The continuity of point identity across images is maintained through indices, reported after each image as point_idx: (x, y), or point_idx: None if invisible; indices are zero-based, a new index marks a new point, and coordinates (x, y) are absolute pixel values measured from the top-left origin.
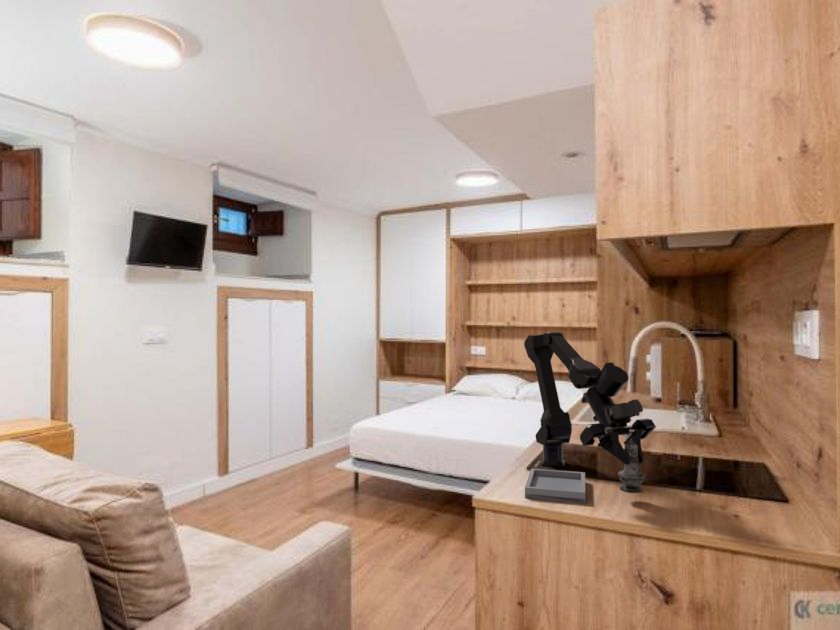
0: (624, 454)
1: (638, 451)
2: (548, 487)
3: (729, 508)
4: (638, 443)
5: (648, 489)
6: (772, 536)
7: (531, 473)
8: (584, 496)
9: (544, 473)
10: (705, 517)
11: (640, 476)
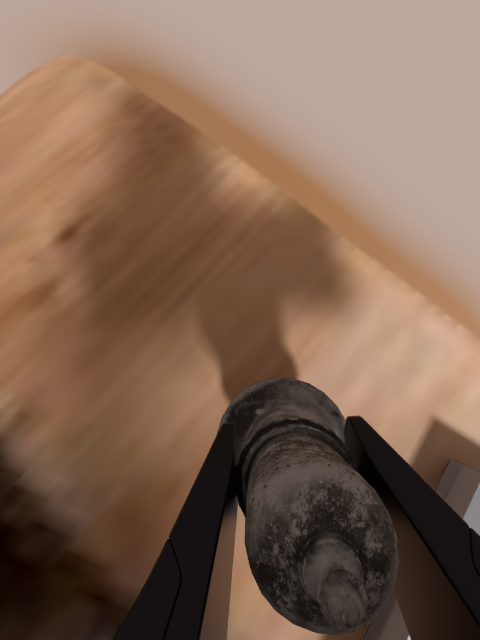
0: (402, 469)
1: (226, 496)
2: None
3: (34, 280)
4: (174, 594)
5: (128, 515)
6: (103, 123)
7: None
8: (474, 469)
9: None
10: (152, 246)
11: (265, 393)
